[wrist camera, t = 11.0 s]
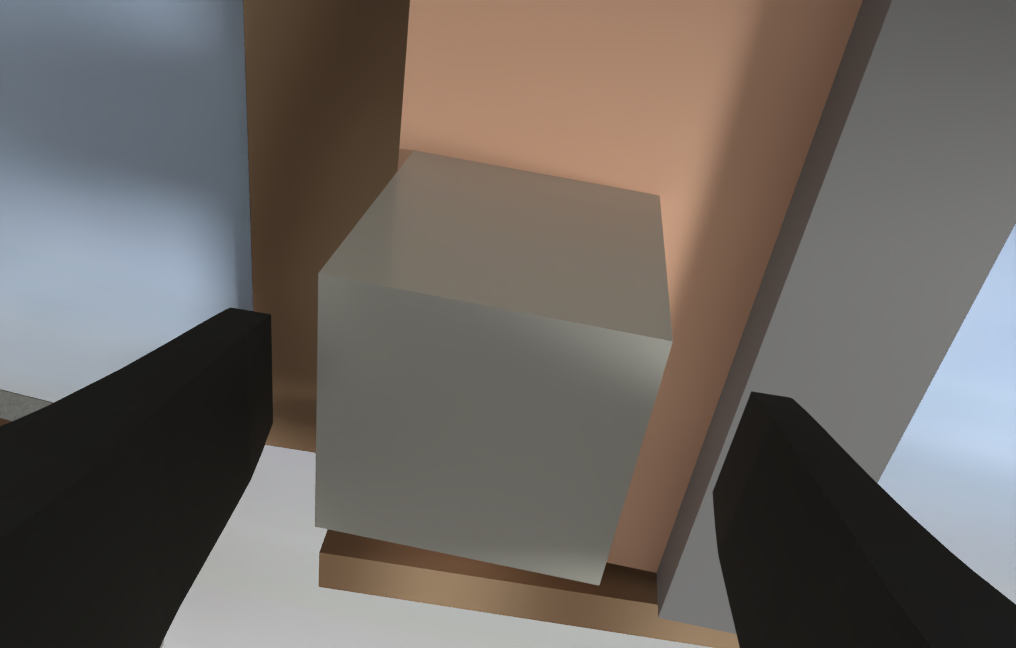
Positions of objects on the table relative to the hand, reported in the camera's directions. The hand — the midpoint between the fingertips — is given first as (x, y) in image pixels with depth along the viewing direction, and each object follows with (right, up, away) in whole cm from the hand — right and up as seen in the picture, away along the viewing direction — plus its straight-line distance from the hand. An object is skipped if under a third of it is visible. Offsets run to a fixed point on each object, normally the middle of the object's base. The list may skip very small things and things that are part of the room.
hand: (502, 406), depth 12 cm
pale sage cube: (0, +2, +3) cm, 4 cm away
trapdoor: (+3, +3, +5) cm, 6 cm away
